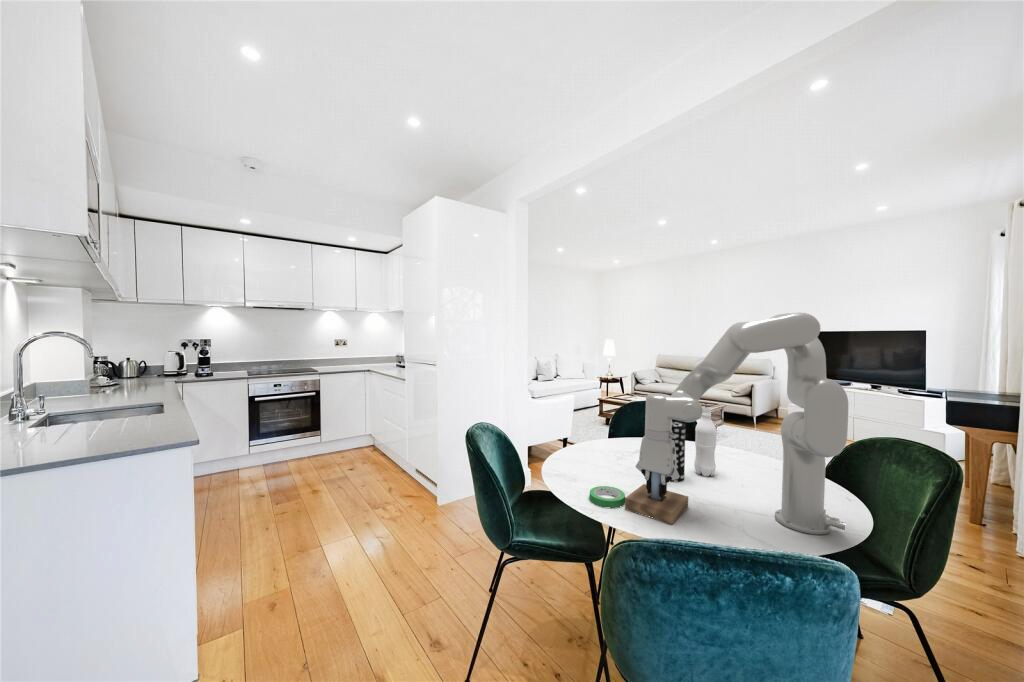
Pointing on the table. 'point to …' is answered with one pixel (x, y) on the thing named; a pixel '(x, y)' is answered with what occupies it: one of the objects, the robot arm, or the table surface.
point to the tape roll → (607, 501)
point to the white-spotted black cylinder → (679, 449)
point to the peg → (655, 486)
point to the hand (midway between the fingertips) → (656, 493)
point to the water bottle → (705, 444)
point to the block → (657, 505)
